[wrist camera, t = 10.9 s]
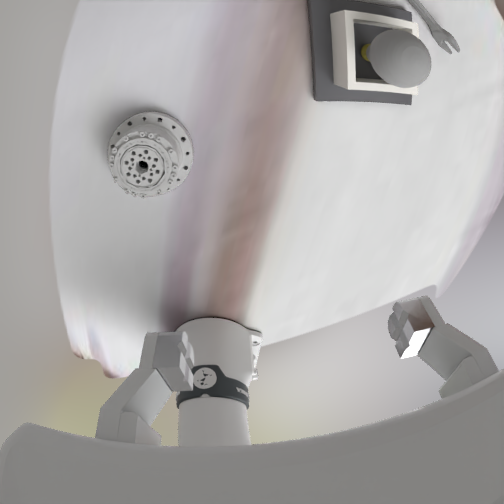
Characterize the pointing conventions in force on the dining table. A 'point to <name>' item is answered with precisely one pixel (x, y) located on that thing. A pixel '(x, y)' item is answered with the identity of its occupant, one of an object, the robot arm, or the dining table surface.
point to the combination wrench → (436, 28)
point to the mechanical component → (150, 154)
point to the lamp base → (353, 50)
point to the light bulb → (398, 58)
